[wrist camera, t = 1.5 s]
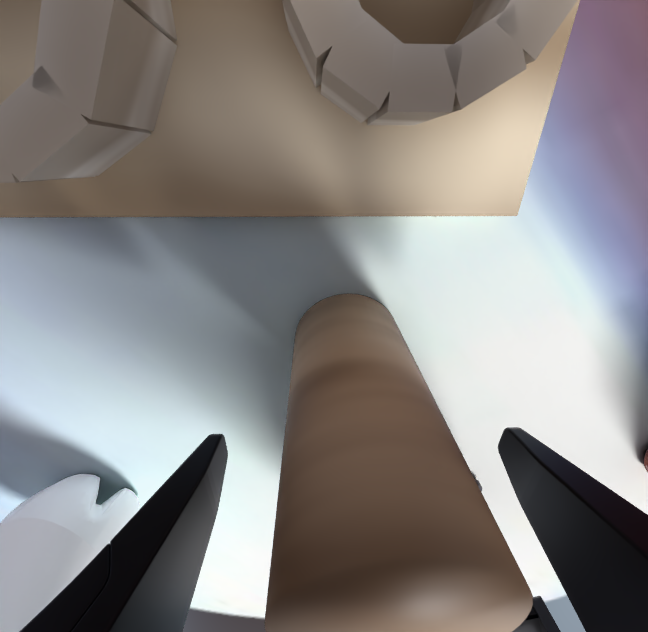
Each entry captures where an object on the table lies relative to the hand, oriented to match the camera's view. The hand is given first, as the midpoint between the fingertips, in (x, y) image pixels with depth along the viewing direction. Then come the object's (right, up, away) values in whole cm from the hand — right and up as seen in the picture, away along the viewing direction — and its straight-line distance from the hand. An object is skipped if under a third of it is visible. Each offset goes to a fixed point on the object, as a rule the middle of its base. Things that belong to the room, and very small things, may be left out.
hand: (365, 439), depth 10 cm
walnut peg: (0, +3, +5) cm, 6 cm away
